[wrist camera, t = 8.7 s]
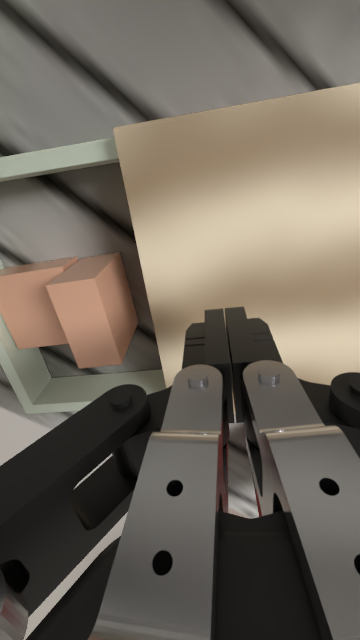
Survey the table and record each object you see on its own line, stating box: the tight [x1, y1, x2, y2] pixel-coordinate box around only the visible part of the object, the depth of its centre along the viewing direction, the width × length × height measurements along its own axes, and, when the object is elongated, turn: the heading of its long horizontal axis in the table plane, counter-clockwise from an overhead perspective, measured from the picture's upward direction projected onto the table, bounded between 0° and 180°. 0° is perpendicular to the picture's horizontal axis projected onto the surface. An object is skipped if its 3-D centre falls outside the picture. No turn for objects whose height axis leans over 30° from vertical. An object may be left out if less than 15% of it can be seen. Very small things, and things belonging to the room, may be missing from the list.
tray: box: [0, 137, 166, 414], centre depth 18 cm, size 16×11×3 cm
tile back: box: [0, 256, 78, 349], centre depth 19 cm, size 5×5×2 cm
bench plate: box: [113, 83, 360, 415], centre depth 16 cm, size 16×12×4 cm
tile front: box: [46, 252, 138, 369], centre depth 17 cm, size 5×5×2 cm
